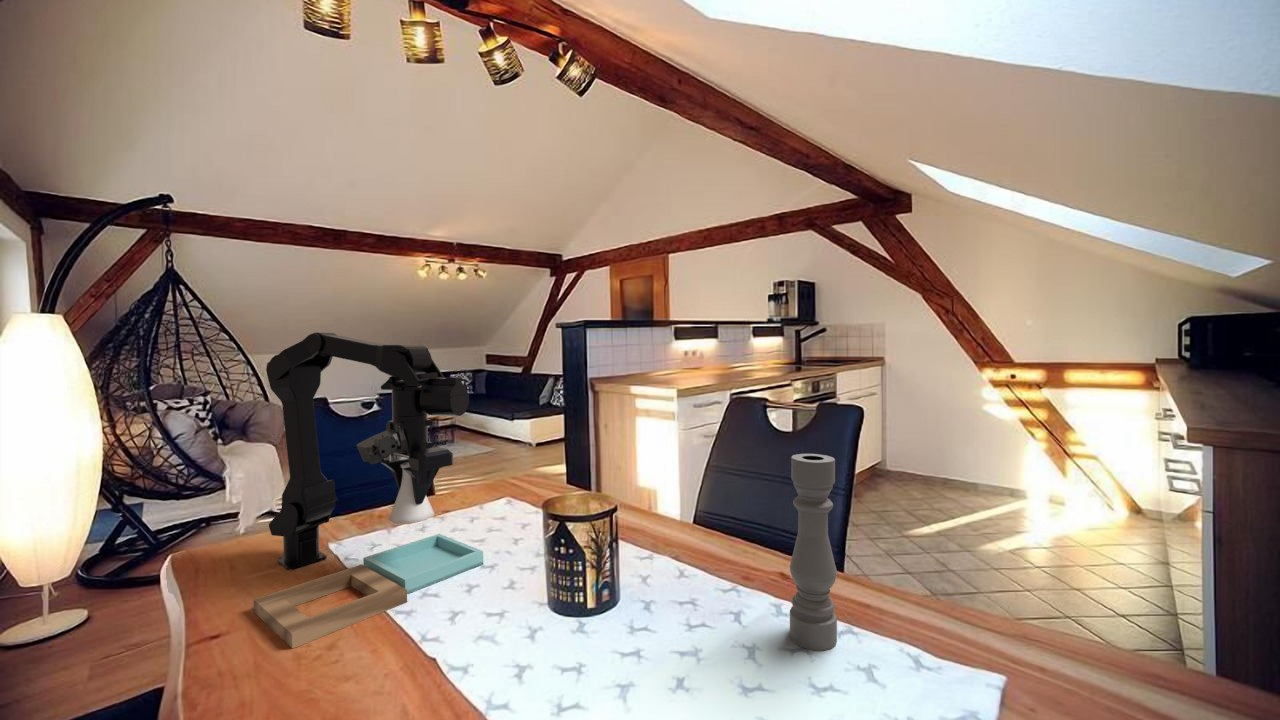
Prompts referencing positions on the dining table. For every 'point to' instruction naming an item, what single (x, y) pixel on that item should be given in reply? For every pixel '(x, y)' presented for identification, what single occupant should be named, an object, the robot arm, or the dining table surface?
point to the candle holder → (813, 554)
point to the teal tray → (424, 561)
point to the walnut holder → (302, 629)
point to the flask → (409, 504)
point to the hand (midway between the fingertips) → (411, 501)
